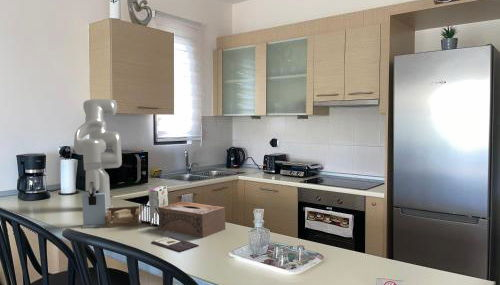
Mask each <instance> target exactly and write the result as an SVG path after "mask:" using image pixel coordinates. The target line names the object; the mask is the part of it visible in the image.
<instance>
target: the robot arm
mask: <svg viewBox="0 0 500 285" xmlns="http://www.w3.org/2000/svg"><path fill="white" fill-rule="evenodd" d="M82 106H83V112H84V113H85V114H84V115H85V118H84V119H85V121H84V123H82V124H81V125H80V126H79V127H78V128H77V130H76V132H75V133H74V139H73V150H74V152H75V154H77V155H83V158H82V159H83V170H84V171H85V193H86V192H87V193H88V194H89V195H88V199H89V205H96V196H95V193H106V208H107V210H108V208H114V204H112V203H111V190H110V187H111V186H110V176H109V174H108V172H106V170H105V169H117V168H120V167H121V166H122V164H123V163H122V162H123V160H122V159H123V158H122V157H123V156H122V153H123V152H122V139H121V134H120V133H119V132H118V131H115V130H114V131H108V130H107V122H106V121H105V119H104V117H108V116H109V117H111V116H115V115H116V114H117V112H118V103H117V101H116V100H115V99H112V98H110V99H109V98H108V99H107V98H105V99H102V98H101V99H97V98H94V99H86V100H85V101H84V102H83V103H82ZM88 135H89V138H84V137H85V136H88ZM106 149H107V150H106ZM108 149H112V150H108Z"/></svg>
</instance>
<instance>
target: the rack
mask: <svg viewBox="0 0 500 285" xmlns="http://www.w3.org/2000/svg"><path fill="white" fill-rule="evenodd" d="M124 209H128V210H131V214H132V215H133V221H132V222H118V223H113V221H112V216H114V212H116V211H120V210H124ZM139 214H141V212H140V205H134V206H133V205H132V206H131V205H130V206H119V207H118V206H116V207H113V208H108V209H107V214H106V215H105V227H104V228H116V227H130V226H132V225H133V226H138V225H139V223H140V219H139Z"/></svg>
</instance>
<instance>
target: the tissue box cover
mask: <svg viewBox="0 0 500 285" xmlns="http://www.w3.org/2000/svg"><path fill="white" fill-rule="evenodd" d="M159 224H160V226H159V230H162V229H164V230H163V231H167V230H168V232H172V233H178V234H182V235H188V236H193V237H197V238H202V239H203V238H206V237H209V236H212V235H214V234H218V233H219V232H222V231H224V230H225V231H226V207H225V206H217V205H211V204H202V203H196V202H188V201H182V200H181V201H178V202H174V203H170V204H168V205H166V206H162V207H159Z"/></svg>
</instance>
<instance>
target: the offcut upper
mask: <svg viewBox="0 0 500 285" xmlns="http://www.w3.org/2000/svg"><path fill="white" fill-rule="evenodd" d="M130 215H131V210H128V209H124V210H120V211H116V212H114V217H116V218H122V217H126V216H130Z"/></svg>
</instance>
